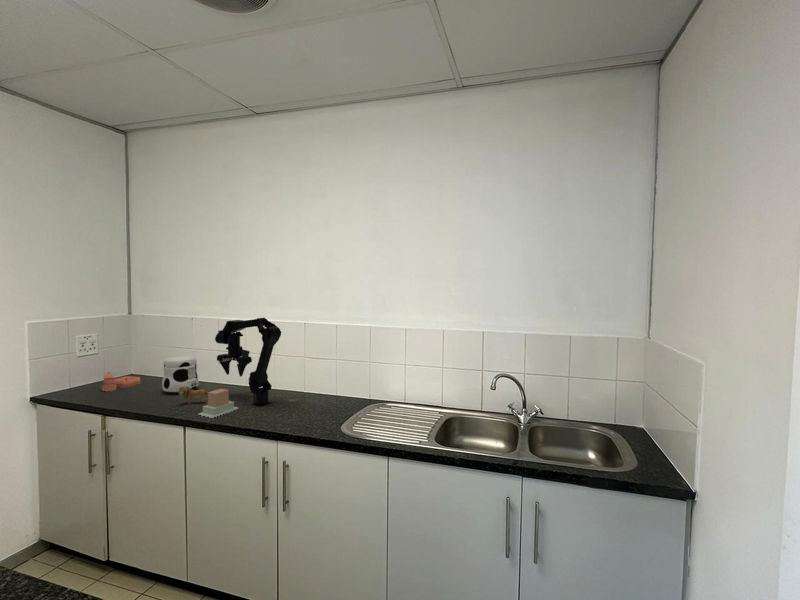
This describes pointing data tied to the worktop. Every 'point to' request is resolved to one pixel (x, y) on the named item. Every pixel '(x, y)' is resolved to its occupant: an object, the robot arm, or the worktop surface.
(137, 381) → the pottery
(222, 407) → the grey scalloped base block
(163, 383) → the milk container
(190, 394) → the lion figurine
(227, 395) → the terracotta brick
